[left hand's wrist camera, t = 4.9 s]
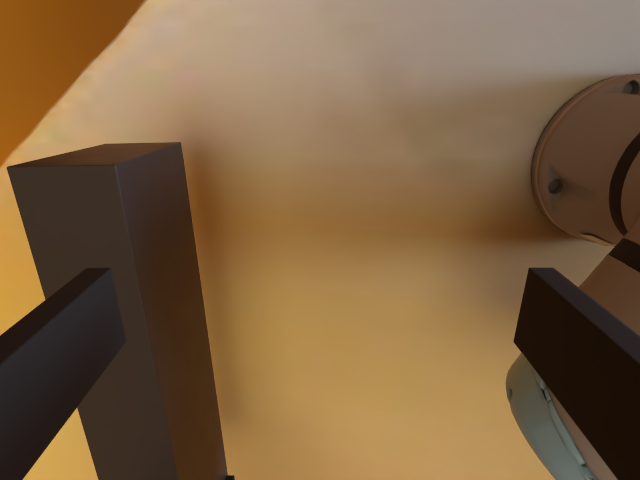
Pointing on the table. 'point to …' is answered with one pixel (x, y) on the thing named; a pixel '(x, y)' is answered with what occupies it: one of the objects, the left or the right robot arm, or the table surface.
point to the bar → (133, 302)
